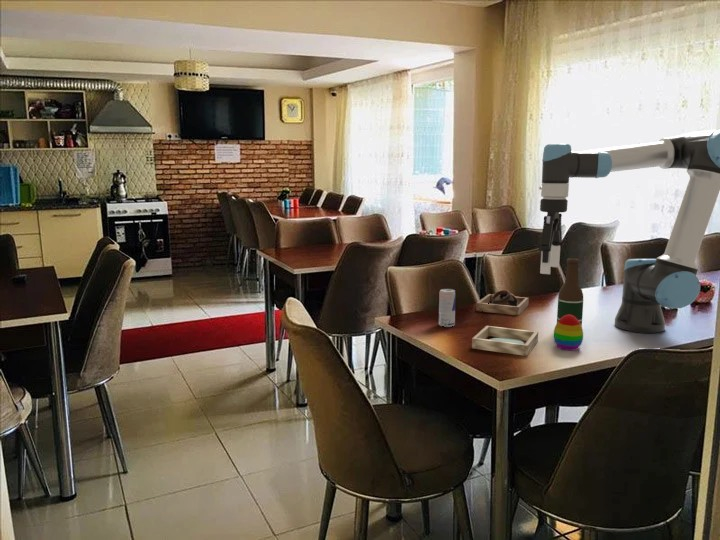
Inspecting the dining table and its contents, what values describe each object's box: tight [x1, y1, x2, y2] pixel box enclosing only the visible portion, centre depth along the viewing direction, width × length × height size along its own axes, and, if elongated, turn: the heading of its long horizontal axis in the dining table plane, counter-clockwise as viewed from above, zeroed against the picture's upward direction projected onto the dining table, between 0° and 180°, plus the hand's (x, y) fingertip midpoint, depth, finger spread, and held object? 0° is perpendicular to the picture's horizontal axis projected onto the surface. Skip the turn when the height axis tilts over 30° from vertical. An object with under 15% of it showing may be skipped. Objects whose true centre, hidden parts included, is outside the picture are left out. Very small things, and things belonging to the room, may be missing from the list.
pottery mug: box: [491, 289, 518, 306], centre depth 223 cm, size 12×10×8 cm
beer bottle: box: [556, 257, 584, 327], centre depth 189 cm, size 8×8×24 cm
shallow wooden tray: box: [471, 325, 539, 357], centre depth 177 cm, size 16×16×3 cm
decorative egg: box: [553, 314, 584, 351], centre depth 174 cm, size 8×8×10 cm
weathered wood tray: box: [475, 293, 530, 316], centre depth 224 cm, size 16×18×3 cm
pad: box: [488, 337, 525, 344], centre depth 178 cm, size 11×11×1 cm
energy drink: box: [438, 288, 456, 328], centre depth 199 cm, size 5×5×12 cm
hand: (549, 270), depth 176 cm, fingers open, 13 cm apart
